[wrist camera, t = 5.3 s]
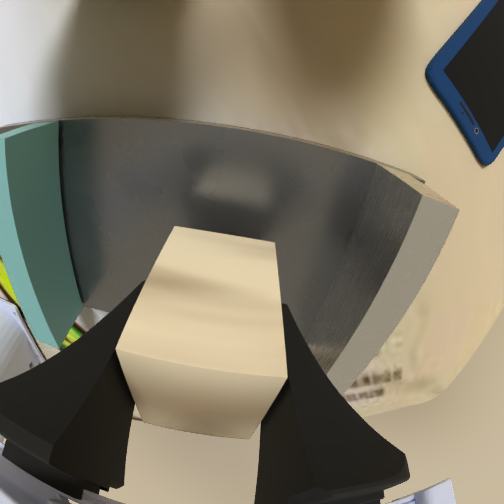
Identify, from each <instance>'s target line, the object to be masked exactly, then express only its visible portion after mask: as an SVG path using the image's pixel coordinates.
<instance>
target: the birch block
mask: <svg viewBox="0 0 504 504" xmlns="http://www.w3.org/2000/svg"><path fill="white" fill-rule="evenodd" d="M116 352H117V355H118V358H119V361H120V364H121V367H122V370H123V373H124V376H125V378H126V381H127V384H128V386H129V389H130V391H131V394H132V397H133V399H134V401H135V404H136V406H137V409H138V411H139V413H140V416H141V418H142V420H143V422H144V423H148V424H152V425H156V426H160V427H165V428H170V429H175V430H180V431H185V432H191V433H197V434H204V435H211V436H219V437H228V438H238V439H239V438H240V439H250V437H251V436H252V434H253V433H254V431H255V430H256V428H257V427H258V425H259V424H260V422H261V421H262V419H263V417H264V416H265V414H266V413H267V411H268V410H269V408H270V406H271V405H272V403H273V401H274V400H275V398H276V396H277V395H278V393H279V391H280V390H281V388H282V386H283V385H284V383H285V381H286V379H287V378H288V376H287V364H286V351H285V340H284V328H283V317H282V307H281V296H280V286H279V276H278V267H277V257H276V248H275V242H269V241H263V240H258V239H252V238H246V237H240V236H234V235H228V234H222V233H216V232H209V231H203V230H197V229H191V228H185V227H178V226H174V228H173V230H172V232H171V234H170V235H169V237H168V239H167V241H166V243H165V245H164V247H163V249H162V250H161V252H160V254H159V256H158V258H157V260H156V262H155V264H154V266H153V268H152V270H151V272H150V274H149V276H148V278H147V280H146V282H145V284H144V286H143V288H142V290H141V292H140V294H139V297H138V299H137V301H136V303H135V305H134V307H133V310H132V312H131V314H130V316H129V318H128V321H127V323H126V325H125V327H124V330H123V332H122V334H121V337H120V339H119V341H118V344H117V346H116Z"/></svg>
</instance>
